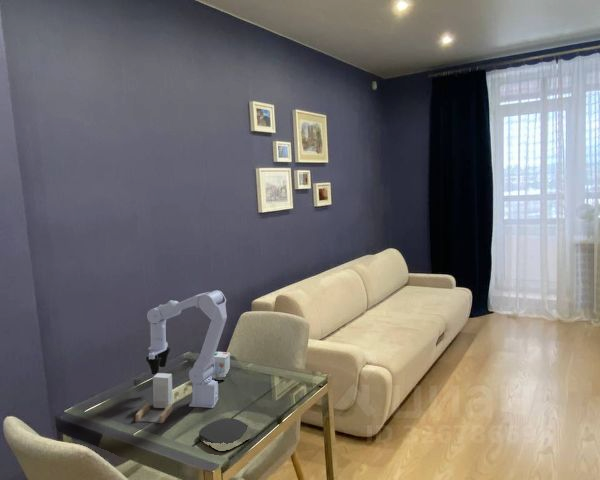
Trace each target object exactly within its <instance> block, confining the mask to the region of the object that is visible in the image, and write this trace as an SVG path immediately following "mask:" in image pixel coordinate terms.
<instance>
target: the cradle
mask: <svg viewBox="0 0 600 480" xmlns="http://www.w3.org/2000/svg"><path fill="white" fill-rule="evenodd" d="M172 412H173V403H172V404H169V405H168V406H167V407H166V408H164V410H156V409H155V410H154V409H150V402H146V403H144V405H143V406H142V407H141V408H140V409H139V410H138V411H137V413H136V414H135V422H139V423H153V424H154V423H157V424H163V423H164V422H165V421H166V420H167V418H168V417H169V416H170V415H171V413H172Z"/></svg>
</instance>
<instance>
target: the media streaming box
mask: <svg viewBox="0 0 600 480" xmlns="http://www.w3.org/2000/svg"><path fill="white" fill-rule="evenodd" d="M248 426H249V425H248V424H247V423H246V422H244V421H241V420H239V419H237V418H231V417H230V418H229V417H227V418H226V417H225V418H219V419H217V420H213V421H212V422H211V423H207V424H206V425H204V426H203V427H202V428H200V430H199V431H198V439H200V440H202V441H205V442H211V443H220V444H221V443H223V442H224V443H226V444H228V443H233V442H234V441H236V440H238V439H240V438H241V437H242V436H243V434H244V433H245V432H246V430H247V427H248ZM200 440H199V441H200ZM202 441H201V442H202Z"/></svg>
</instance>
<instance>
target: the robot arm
mask: <svg viewBox="0 0 600 480" xmlns="http://www.w3.org/2000/svg"><path fill="white" fill-rule="evenodd" d="M226 303H227V298H226V297H225V295H224V293H223V292H222V291H221V290H219V289H216V290H215V289H214V290H213V291H207V292H202V293H199V294H196V295H193V296H192V297H191V296H190V297H189V298H187V299H184V300H182V301H180V302H179V301H178V300H172V299H171V300H169V301H167V303H165V304H159V305H158V306H157V307H154V308H151V309H149V310H148V311H147V313H146V318H147V320H148V322H149V324H150V325H149V326H150V346H149V347H148V349H147V350H148V351H149V354H148V356H146V358H145V361H146V362H147V363H148V366H149V367H150V371H151V374H152V375H154V376H155V375H156V374H157V373H160V372H159V370H160V368H165V367H166V365H167V360H168V357H169V353H170V352H171V348H170V347H168V345H169V344H168V341H167V339H166V338H167V337H166V336H167V335H166V334H167V333H166V332H167V331H166V328H167V326H166V324H167V320H169V319H171V318H173V317H176V316H179V315H181V313H182V311H183V310H185V309H188V308H191V307H195V308H196V309H199V308H200V310H201V312H203V313H204V314H205V315H206V316H207V317H208V318H209V319H210V322H209V327H208V329H207V331H206V335H205V338H204V342H203V345H202V347H201V351H200V353H199V357H198V358H197V359H196V361H195V362H194V364H193V367H191V369H190V370H189V371H188V378H189V380H190V381H191V384H192V400H191V402H190V403H189V405H188V407H193V408H206V409H207V408H210V409H214V408H215V406H216V404H217V403H218V400H219V383H218V382H219V381H215V380H212V374H213V373H214V371H215V359H214V355H215V352H217V349H218V346H219V343H220V340H221V337H222V334H223V331H224V328H225V325H226V322H227V318H228V315H227V308H226V307H227V306H226Z"/></svg>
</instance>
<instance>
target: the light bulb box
mask: <svg viewBox="0 0 600 480" xmlns="http://www.w3.org/2000/svg"><path fill="white" fill-rule="evenodd" d="M214 359H215V371H214V373H213V374H212V378H216V377H225V376H226V374H227V373H228V371H229V369H231V367H230V365H231V364H230V363H231V353H230V352H227V351H226V352H225V351H216V352H215V355H214Z"/></svg>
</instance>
